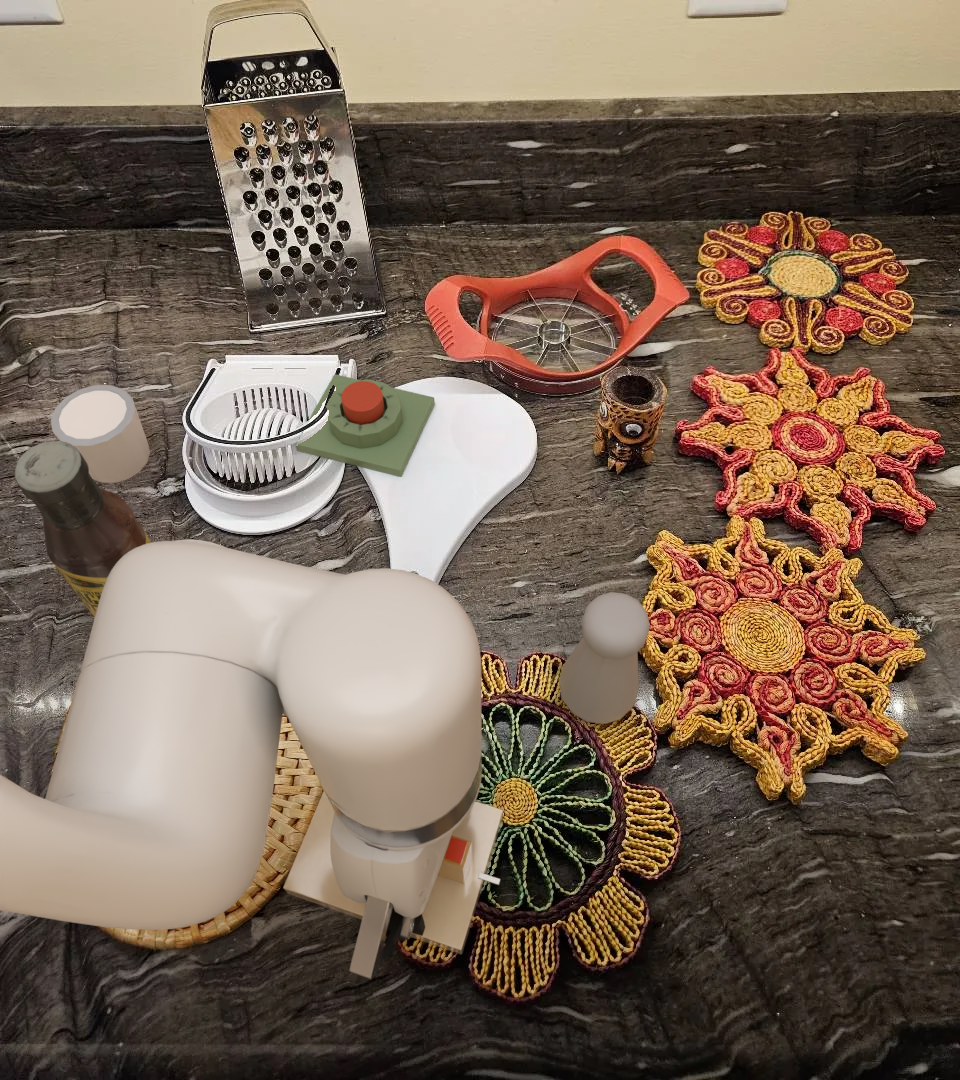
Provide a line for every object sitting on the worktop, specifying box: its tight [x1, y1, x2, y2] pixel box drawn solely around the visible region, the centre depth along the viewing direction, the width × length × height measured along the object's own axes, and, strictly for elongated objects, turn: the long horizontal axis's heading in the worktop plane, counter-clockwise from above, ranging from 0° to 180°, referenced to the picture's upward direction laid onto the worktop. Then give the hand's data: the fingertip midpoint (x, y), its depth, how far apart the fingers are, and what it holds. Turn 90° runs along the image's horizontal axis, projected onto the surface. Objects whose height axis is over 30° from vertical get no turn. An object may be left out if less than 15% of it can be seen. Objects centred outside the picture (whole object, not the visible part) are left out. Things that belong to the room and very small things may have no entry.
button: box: [341, 381, 384, 425], centre depth 76 cm, size 4×4×2 cm
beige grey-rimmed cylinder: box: [50, 384, 151, 484], centre depth 75 cm, size 7×7×7 cm
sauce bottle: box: [14, 440, 152, 618], centre depth 61 cm, size 7×6×20 cm
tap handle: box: [438, 835, 472, 884], centre depth 54 cm, size 6×2×5 cm, turn 73°
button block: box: [295, 373, 436, 478], centre depth 78 cm, size 10×9×4 cm
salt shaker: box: [558, 591, 651, 725], centre depth 60 cm, size 6×6×13 cm
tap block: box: [283, 790, 504, 955], centre depth 57 cm, size 13×10×3 cm
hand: (423, 853), depth 55 cm, fingers open, 8 cm apart
